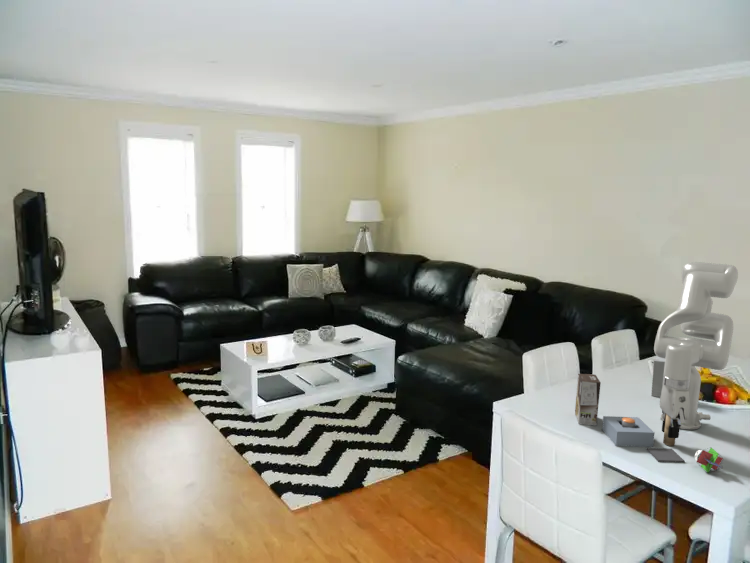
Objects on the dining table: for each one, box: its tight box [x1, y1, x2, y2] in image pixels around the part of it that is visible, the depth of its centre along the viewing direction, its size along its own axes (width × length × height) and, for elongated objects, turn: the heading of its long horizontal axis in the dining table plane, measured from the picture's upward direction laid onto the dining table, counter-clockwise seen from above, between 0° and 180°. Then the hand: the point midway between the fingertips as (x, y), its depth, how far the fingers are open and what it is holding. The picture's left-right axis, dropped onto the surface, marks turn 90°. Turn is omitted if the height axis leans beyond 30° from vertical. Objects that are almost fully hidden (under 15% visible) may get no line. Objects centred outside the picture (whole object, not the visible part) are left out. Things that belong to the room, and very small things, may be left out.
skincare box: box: [650, 355, 665, 398], centre depth 221 cm, size 8×7×16 cm
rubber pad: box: [645, 447, 686, 464], centre depth 172 cm, size 8×8×1 cm
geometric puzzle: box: [694, 446, 724, 474], centre depth 164 cm, size 7×7×8 cm
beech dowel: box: [662, 414, 678, 447], centre depth 179 cm, size 3×3×11 cm
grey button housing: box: [601, 415, 655, 448], centre depth 184 cm, size 12×12×5 cm
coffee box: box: [574, 373, 601, 427], centre depth 197 cm, size 9×6×16 cm
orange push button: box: [621, 416, 635, 428], centre depth 183 cm, size 4×4×4 cm
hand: (669, 434), depth 180 cm, fingers closed on beech dowel, 3 cm apart
